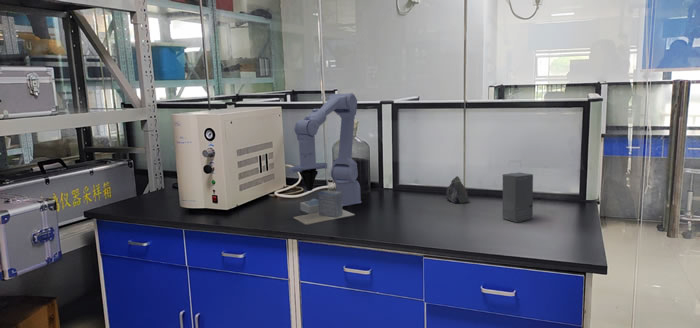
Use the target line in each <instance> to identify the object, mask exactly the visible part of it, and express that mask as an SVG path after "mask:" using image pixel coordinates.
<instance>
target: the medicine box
mask: <svg viewBox="0 0 700 328" xmlns="http://www.w3.org/2000/svg"><path fill="white" fill-rule="evenodd" d="M317 198H318V199H317V200H318V204H319V215H324V216H332V217H338V216H340V215H342V214H343V210H344V209H343V206H342V192H337V191H336V190H327V189H326V190H321V191H320V192H317ZM342 209H343V210H342Z"/></svg>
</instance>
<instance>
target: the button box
mask: <svg viewBox="0 0 700 328" xmlns="http://www.w3.org/2000/svg"><path fill="white" fill-rule="evenodd" d="M309 201H310V200H308V201H302V202H301V201H300V202H299V203H300V207H299V208H300V211H301V212H303V213H306V214H313V213H318V212H319V204H318V205H312V206H310V205H308V204H307V202H309Z"/></svg>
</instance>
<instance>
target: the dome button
mask: <svg viewBox="0 0 700 328" xmlns="http://www.w3.org/2000/svg"><path fill="white" fill-rule="evenodd" d="M308 201H309V202H307V201H306V202H307V204H308V205H310V206H312V205H318V199H317V198H311V199H310V200H308Z"/></svg>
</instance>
